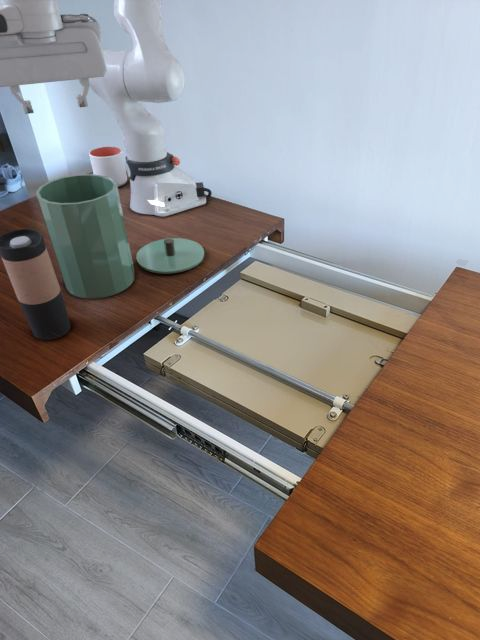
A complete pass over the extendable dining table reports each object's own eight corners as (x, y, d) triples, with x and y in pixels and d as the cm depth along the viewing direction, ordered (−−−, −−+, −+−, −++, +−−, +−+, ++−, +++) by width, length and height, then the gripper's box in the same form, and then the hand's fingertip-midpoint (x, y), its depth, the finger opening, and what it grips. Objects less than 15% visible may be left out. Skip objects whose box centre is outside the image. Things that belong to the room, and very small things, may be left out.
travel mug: (31, 322, 96) (-5, 232, 83) (70, 314, 99) (41, 225, 86) (32, 344, 91) (-6, 252, 78) (73, 335, 93) (43, 244, 80)
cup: (120, 190, 148) (113, 158, 141) (90, 188, 149) (82, 155, 143) (132, 179, 155) (127, 147, 149) (104, 176, 157) (98, 145, 150)
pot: (124, 256, 117) (105, 169, 103) (143, 287, 106) (125, 194, 92) (60, 272, 111) (31, 182, 97) (73, 305, 101) (42, 210, 87)
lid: (190, 237, 125) (188, 220, 122) (215, 265, 114) (213, 248, 111) (129, 251, 119) (125, 233, 116) (148, 282, 108) (145, 264, 105)
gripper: (92, 11, 82) (109, 98, 91) (-38, 17, 75) (-6, 112, 84) (101, 14, 78) (118, 106, 87) (-36, 22, 70) (-2, 121, 80)
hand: (56, 109), depth 85 cm, fingers open, 8 cm apart
